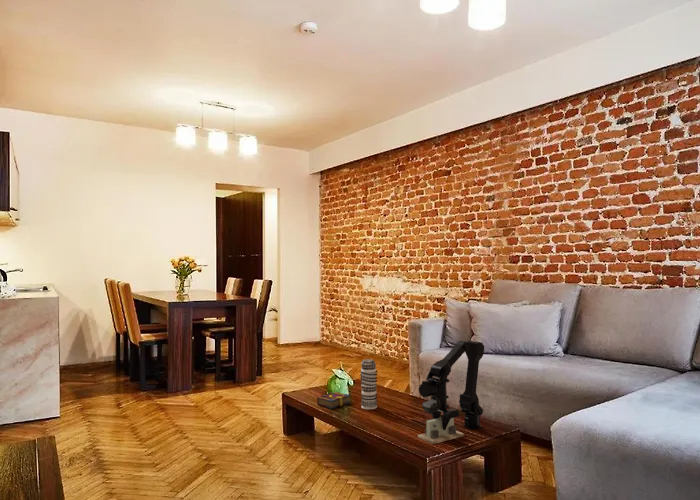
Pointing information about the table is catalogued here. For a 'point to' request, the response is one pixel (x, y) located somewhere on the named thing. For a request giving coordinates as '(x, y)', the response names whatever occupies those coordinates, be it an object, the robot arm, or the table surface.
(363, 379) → the tower model
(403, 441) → the table surface
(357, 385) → the table surface
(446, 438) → the hinge base
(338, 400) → the decorative book
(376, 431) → the table surface
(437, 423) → the door panel
